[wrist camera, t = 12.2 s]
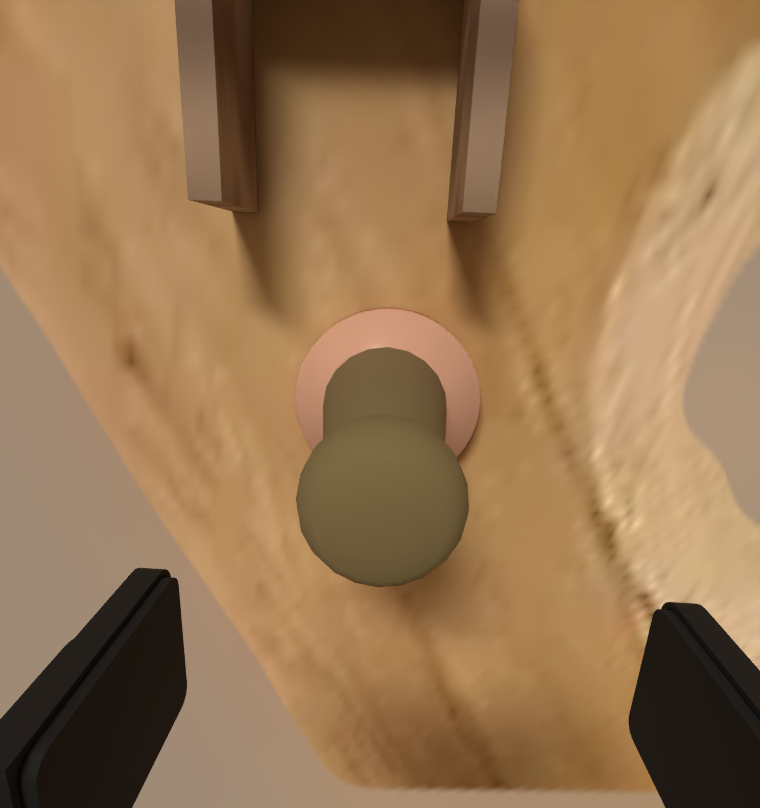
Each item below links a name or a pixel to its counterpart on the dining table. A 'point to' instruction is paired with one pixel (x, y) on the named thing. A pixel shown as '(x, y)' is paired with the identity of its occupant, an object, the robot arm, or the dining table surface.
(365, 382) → the olive peg doll
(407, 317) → the terracotta coaster
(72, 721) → the robot arm
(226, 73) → the walnut shelf bay
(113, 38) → the dining table surface
